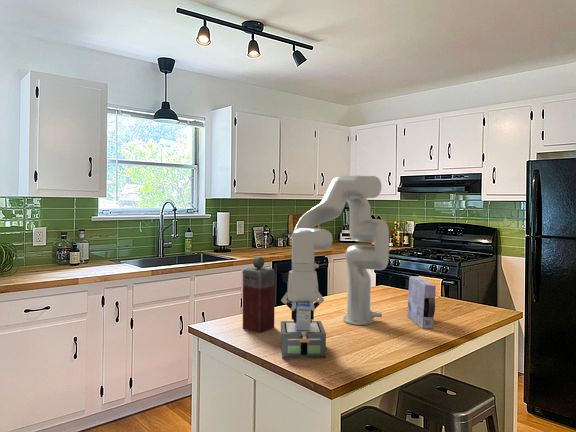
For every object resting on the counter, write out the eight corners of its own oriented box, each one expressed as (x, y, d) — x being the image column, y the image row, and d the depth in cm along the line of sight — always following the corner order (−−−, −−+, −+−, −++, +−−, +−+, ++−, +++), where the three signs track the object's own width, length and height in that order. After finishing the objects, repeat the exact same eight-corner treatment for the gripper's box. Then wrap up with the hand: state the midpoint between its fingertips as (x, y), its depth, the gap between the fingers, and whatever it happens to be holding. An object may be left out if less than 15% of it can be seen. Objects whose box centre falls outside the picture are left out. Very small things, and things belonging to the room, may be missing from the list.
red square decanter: (253, 322, 180) (253, 254, 179) (274, 327, 173) (275, 256, 172) (238, 327, 173) (238, 256, 172) (259, 333, 166) (260, 259, 165)
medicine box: (294, 323, 151) (294, 298, 151) (307, 323, 152) (307, 298, 151) (297, 330, 143) (297, 304, 143) (310, 330, 144) (311, 304, 143)
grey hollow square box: (320, 343, 155) (320, 320, 155) (325, 358, 141) (326, 333, 141) (280, 343, 155) (280, 321, 154) (282, 358, 140) (282, 334, 140)
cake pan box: (435, 330, 172) (436, 284, 171) (423, 330, 171) (424, 285, 171) (417, 316, 191) (418, 275, 190) (406, 316, 191) (407, 275, 190)
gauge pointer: (308, 341, 140) (308, 338, 140) (309, 342, 139) (309, 339, 139) (299, 341, 140) (299, 338, 140) (299, 342, 139) (299, 339, 139)
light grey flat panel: (316, 325, 153) (316, 322, 153) (321, 339, 139) (321, 335, 139) (285, 326, 153) (285, 322, 153) (287, 339, 139) (287, 335, 138)
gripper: (326, 265, 151) (326, 318, 152) (277, 265, 150) (277, 318, 151) (329, 269, 143) (329, 324, 144) (277, 269, 142) (277, 325, 143)
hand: (302, 321), depth 147 cm, fingers closed on medicine box, 4 cm apart
